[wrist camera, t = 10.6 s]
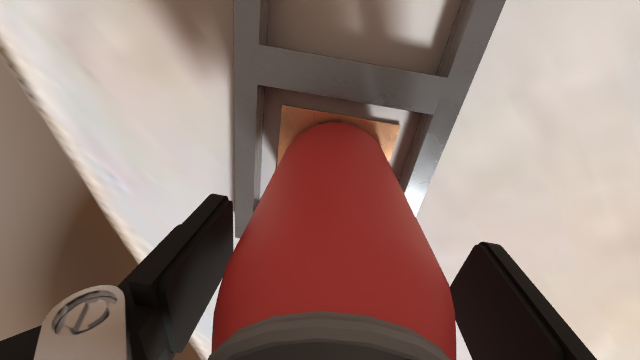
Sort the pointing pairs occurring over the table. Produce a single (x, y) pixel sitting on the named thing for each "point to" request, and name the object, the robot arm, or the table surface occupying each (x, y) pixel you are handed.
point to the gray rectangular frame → (349, 96)
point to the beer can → (333, 263)
